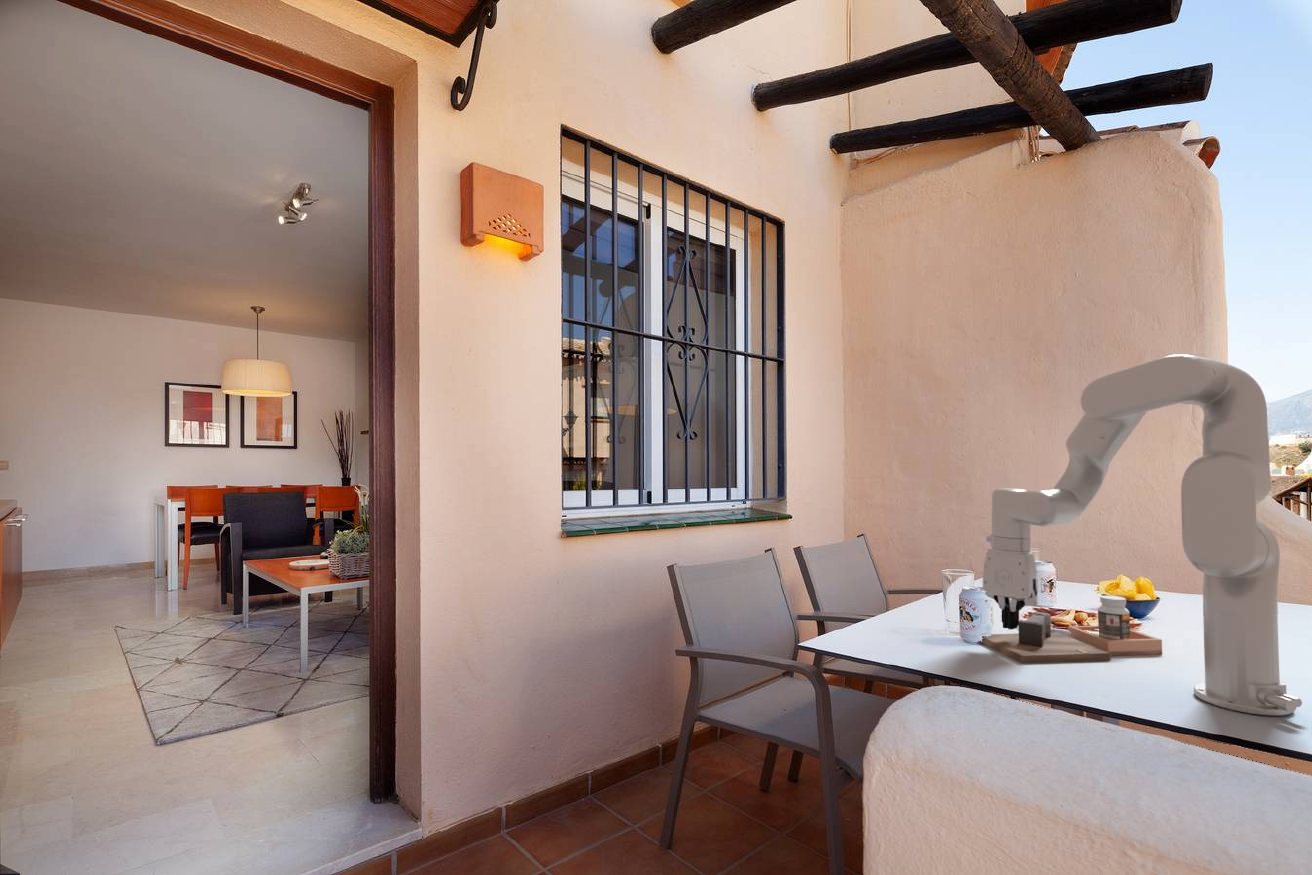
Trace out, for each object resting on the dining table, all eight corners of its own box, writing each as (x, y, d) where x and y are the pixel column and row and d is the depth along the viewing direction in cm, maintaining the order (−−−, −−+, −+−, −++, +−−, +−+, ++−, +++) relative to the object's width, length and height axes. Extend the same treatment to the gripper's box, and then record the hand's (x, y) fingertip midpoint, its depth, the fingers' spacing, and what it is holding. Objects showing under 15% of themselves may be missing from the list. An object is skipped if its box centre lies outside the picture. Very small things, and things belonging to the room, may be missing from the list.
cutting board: (1110, 660, 133) (1110, 652, 133) (1021, 663, 132) (1021, 655, 132) (1058, 639, 149) (1058, 631, 149) (978, 641, 147) (978, 634, 147)
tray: (1162, 653, 137) (1161, 639, 137) (1108, 655, 136) (1108, 641, 136) (1118, 638, 149) (1117, 624, 149) (1068, 639, 148) (1068, 626, 148)
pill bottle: (1131, 648, 139) (1129, 601, 139) (1098, 644, 142) (1097, 598, 142) (1130, 641, 143) (1128, 596, 144) (1098, 637, 147) (1097, 593, 147)
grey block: (1032, 630, 150) (1032, 610, 150) (1054, 633, 147) (1054, 613, 147) (1018, 642, 140) (1018, 621, 140) (1042, 646, 137) (1041, 625, 137)
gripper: (968, 541, 147) (968, 622, 147) (1037, 550, 135) (1037, 639, 135) (986, 538, 151) (986, 617, 151) (1055, 547, 139) (1054, 633, 139)
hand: (1010, 627), depth 143 cm, fingers closed
